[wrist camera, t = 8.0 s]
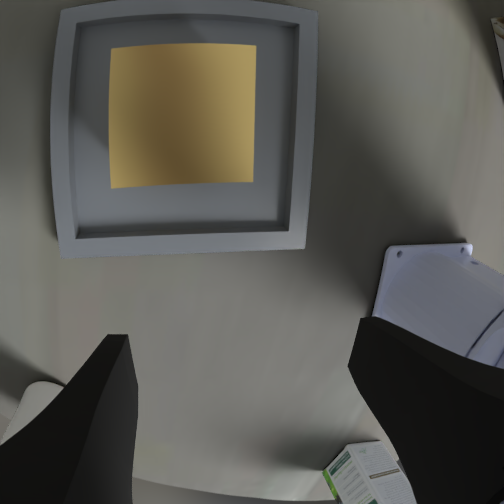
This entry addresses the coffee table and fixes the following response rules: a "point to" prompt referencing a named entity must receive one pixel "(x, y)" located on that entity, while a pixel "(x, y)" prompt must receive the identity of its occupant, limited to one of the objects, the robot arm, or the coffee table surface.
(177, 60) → the cube
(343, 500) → the syrup box
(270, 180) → the tray
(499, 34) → the coffee box
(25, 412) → the drinking glass
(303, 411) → the coffee table surface
